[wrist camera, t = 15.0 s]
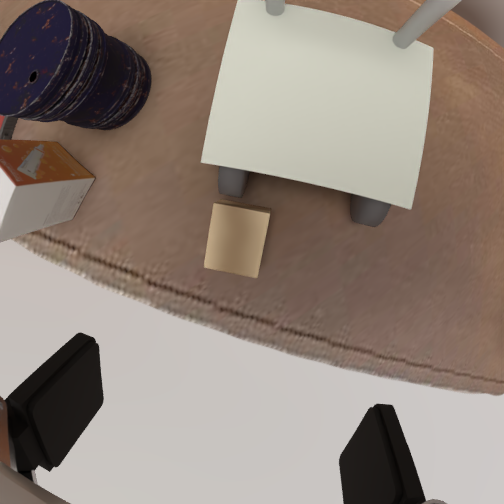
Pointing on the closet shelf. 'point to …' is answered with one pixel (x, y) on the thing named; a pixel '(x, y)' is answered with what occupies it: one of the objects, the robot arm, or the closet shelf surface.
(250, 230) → the block
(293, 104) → the trolley
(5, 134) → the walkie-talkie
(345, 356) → the closet shelf surface
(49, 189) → the small box
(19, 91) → the dark blue cylinder
